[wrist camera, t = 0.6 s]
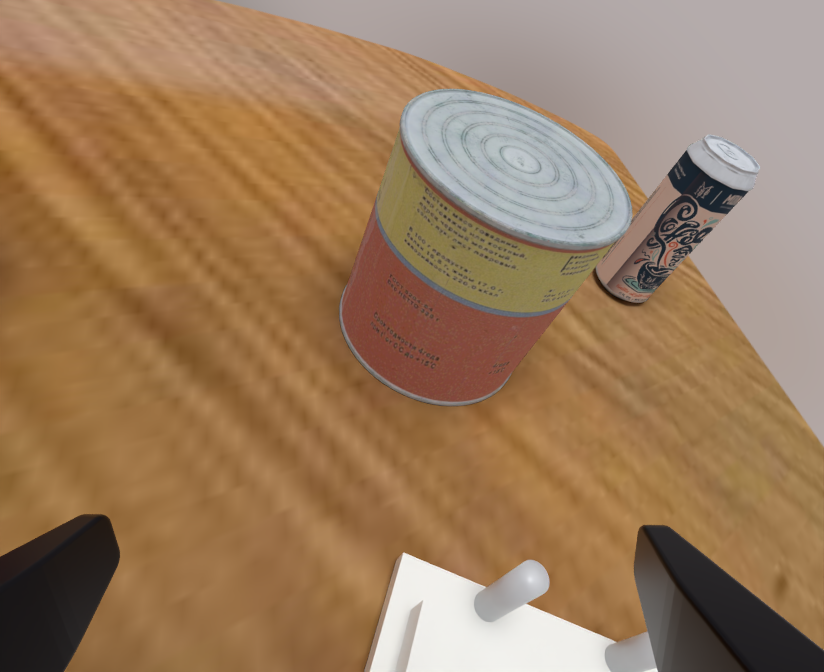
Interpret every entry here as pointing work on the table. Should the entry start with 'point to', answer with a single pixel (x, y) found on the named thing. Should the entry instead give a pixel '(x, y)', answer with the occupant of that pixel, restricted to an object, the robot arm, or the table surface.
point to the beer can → (677, 217)
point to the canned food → (475, 244)
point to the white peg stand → (488, 627)
